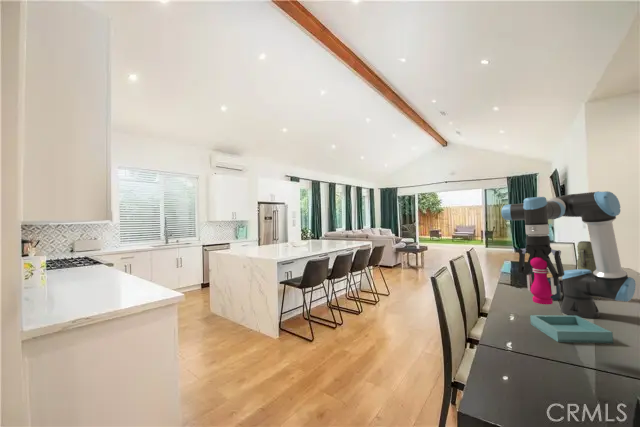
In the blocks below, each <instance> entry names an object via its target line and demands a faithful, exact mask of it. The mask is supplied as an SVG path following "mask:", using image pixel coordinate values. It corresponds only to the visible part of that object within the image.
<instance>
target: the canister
mask: <svg viewBox="0 0 640 427" xmlns="http://www.w3.org/2000/svg"><path fill="white" fill-rule="evenodd" d="M551 277H553V276H552V274H551V272H550V270H548V273H547V279H548V282H549V284H550V285H551ZM560 281H561V279H559V282H560ZM556 292H557V293H556V294H555V295H552V296H551V297H550V298H552V300H553V301H559V299H560V300H562V294H561V284H559V285H558V286H556Z"/></svg>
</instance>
